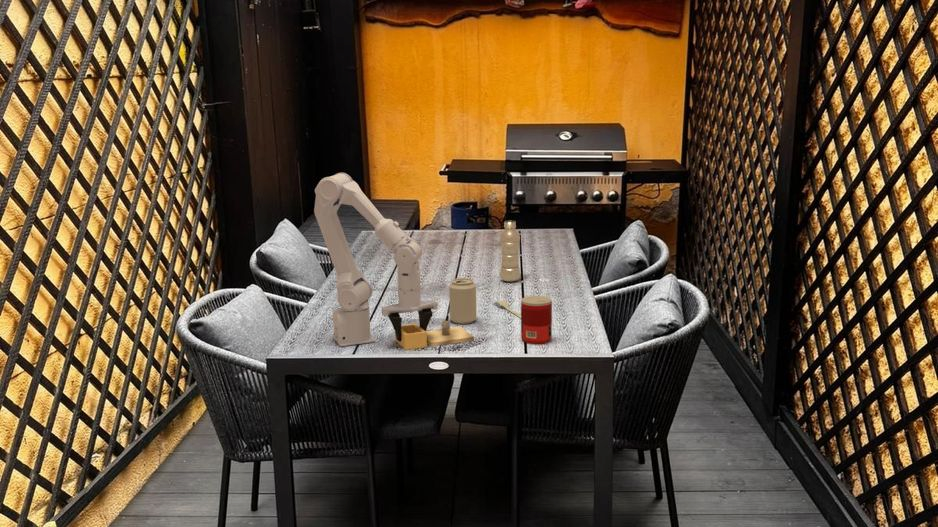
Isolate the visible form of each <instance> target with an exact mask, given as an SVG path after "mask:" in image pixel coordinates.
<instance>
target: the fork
mask: <svg viewBox="0 0 938 527" xmlns="http://www.w3.org/2000/svg"><path fill="white" fill-rule="evenodd" d="M493 303H494V304H499V305H500V306H501V307H504V308H505V309H506V310H507V311H508V312H511V313H512V314H514V315H515V316H516V317H518V318H519V319H520V320H521V312H520V313H519V312H517V311H514V310H513V309H511V308H509V302H508V301H507V300H499V301H494V302H492V303H491V304H492V305H493Z"/></svg>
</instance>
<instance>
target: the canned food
mask: <svg viewBox="0 0 938 527" xmlns="http://www.w3.org/2000/svg"><path fill="white" fill-rule="evenodd" d="M520 314H521V319H520V325H521V326H520V338H521V340H522V342H523V343H525V344H529V343H530V345H544V344H548V343H549V342H551V340H552V336H553V335H552V334H553V333H552V332H553V331H552V326H553V324H552V322H553V318H552V317H553V316H552V315H553V301H552V298H550V297H548V296H545V295H544V296H541V295H530V296H526V297H523V298H521V301H520ZM547 342H548V343H547Z"/></svg>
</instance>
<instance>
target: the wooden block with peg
mask: <svg viewBox="0 0 938 527" xmlns="http://www.w3.org/2000/svg"><path fill="white" fill-rule="evenodd" d="M426 333H427V345H429V346H430V348H431V347H432V348H433V347H438V345H439V346H445V345H453V344H458V343H460V344H461V343H465V342H472V341H475V336H474V335H473V334H471V333H470V332H468V331H467V330H465V329H464V328H463V327H461V326H454V327H450V320H442V321H441V328H440V329H439V328H438V329H430V330H426Z"/></svg>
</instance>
